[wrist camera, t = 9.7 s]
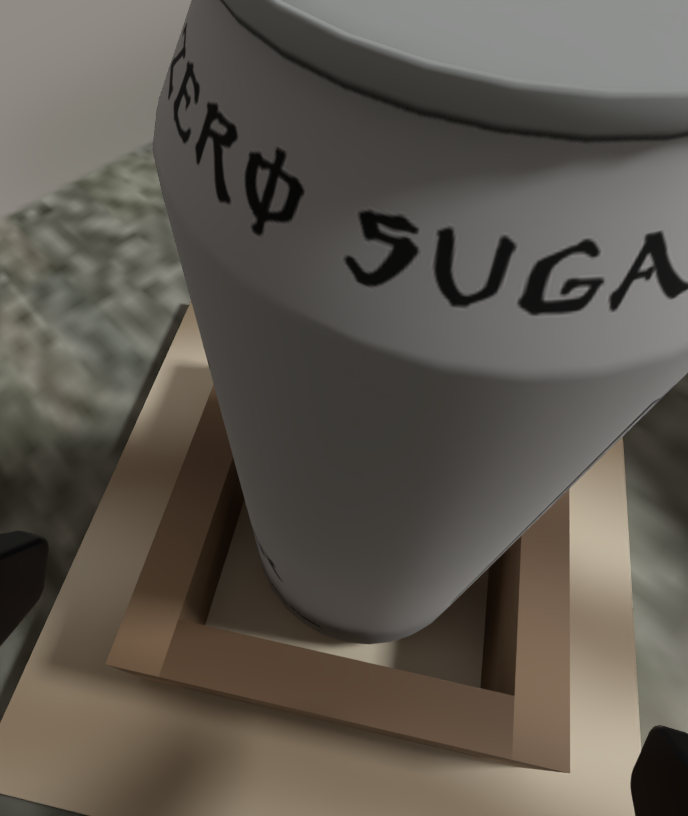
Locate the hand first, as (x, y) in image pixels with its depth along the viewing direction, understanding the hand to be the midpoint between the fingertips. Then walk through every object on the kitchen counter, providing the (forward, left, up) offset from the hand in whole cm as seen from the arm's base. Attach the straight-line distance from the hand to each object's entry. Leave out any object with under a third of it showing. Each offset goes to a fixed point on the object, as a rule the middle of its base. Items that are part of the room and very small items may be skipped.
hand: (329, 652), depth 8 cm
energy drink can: (+4, 0, -8) cm, 9 cm away
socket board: (+4, 0, -9) cm, 10 cm away
